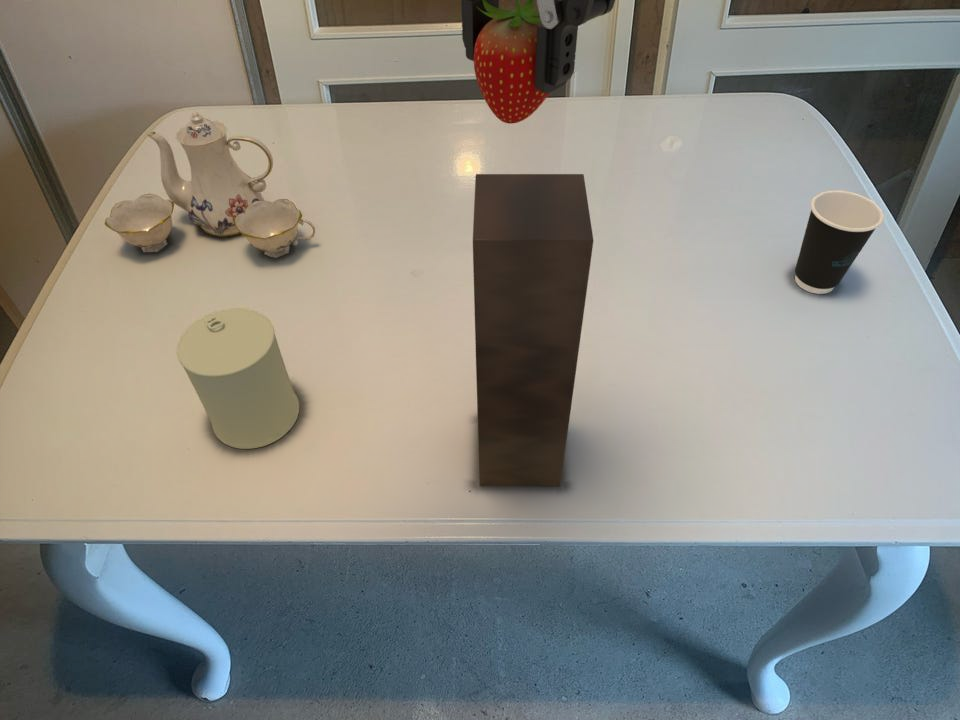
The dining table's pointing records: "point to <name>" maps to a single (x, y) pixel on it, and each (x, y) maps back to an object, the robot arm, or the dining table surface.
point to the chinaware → (209, 195)
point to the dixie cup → (834, 238)
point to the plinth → (528, 320)
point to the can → (239, 377)
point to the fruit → (509, 62)
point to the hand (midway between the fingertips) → (515, 71)
